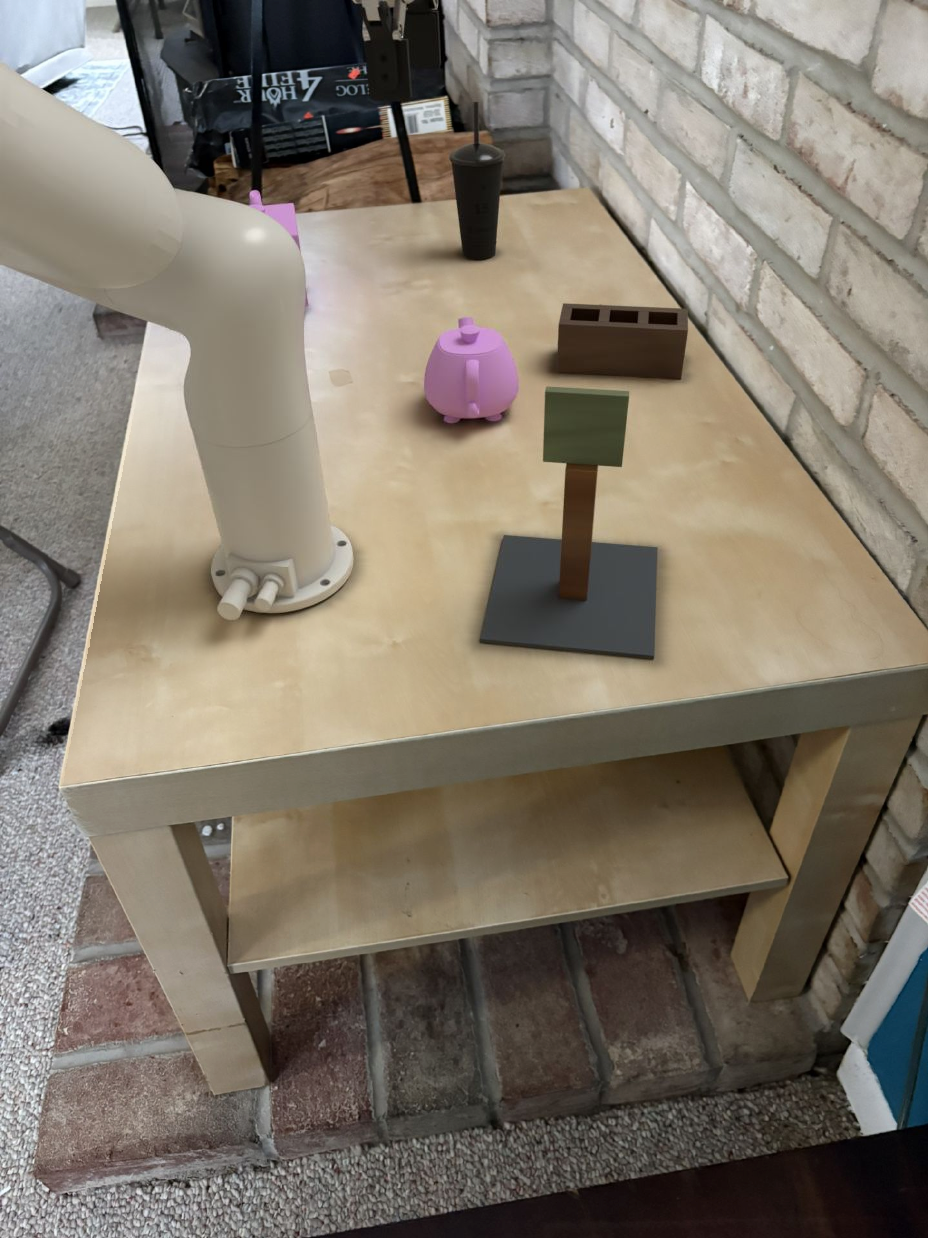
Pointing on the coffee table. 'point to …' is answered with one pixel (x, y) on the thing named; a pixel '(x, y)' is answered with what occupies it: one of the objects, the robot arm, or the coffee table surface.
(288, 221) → the teapot
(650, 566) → the mat
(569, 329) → the rack
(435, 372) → the teapot
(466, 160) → the drinking cup
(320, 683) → the coffee table surface
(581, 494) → the spatula
